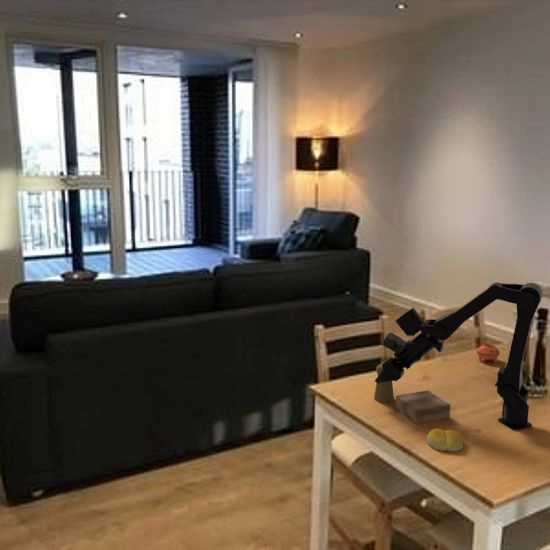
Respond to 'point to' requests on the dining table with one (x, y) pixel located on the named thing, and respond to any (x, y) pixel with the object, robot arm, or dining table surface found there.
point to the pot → (488, 352)
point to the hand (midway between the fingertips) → (380, 376)
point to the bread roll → (445, 440)
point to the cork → (383, 389)
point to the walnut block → (422, 407)
